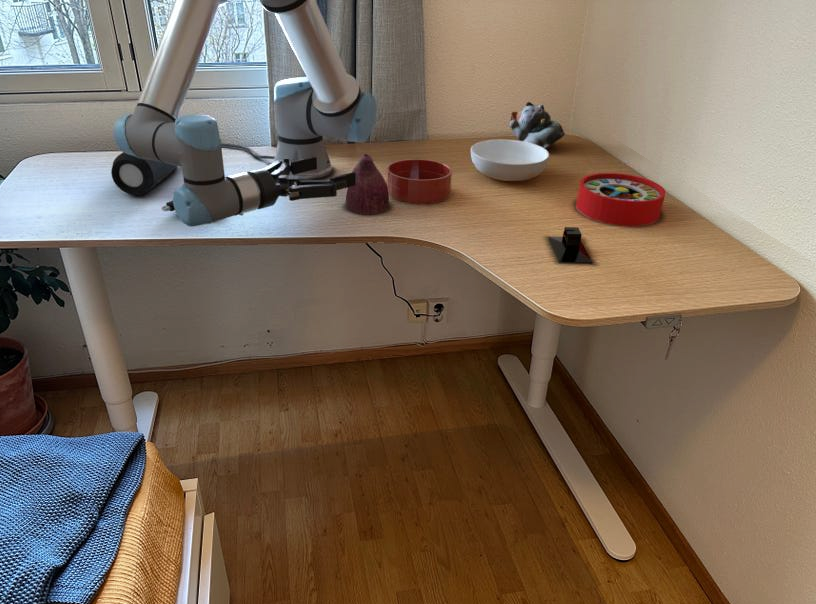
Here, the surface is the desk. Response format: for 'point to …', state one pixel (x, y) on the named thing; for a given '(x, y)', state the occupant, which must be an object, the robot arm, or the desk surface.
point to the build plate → (570, 247)
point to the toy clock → (620, 199)
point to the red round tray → (418, 181)
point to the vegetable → (367, 189)
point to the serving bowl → (509, 159)
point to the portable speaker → (138, 173)
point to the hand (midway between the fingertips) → (334, 170)
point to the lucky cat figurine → (535, 126)
